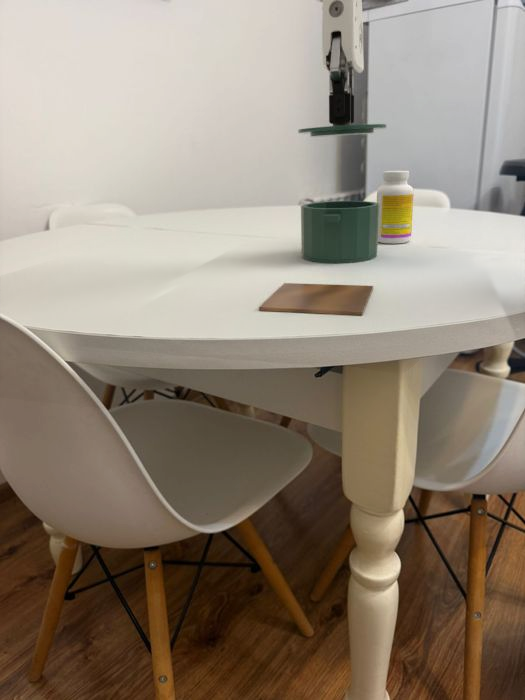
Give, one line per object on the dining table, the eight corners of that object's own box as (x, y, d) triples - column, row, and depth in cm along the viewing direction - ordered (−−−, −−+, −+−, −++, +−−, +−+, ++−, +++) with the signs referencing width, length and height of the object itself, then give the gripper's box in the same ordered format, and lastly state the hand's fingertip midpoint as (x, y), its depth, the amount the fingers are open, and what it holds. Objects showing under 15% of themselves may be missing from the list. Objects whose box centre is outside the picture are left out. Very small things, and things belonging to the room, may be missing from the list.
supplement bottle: (417, 242, 101) (421, 170, 96) (385, 245, 99) (388, 172, 95) (400, 237, 107) (403, 169, 102) (369, 240, 105) (371, 171, 101)
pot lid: (389, 132, 88) (391, 88, 86) (381, 131, 76) (383, 79, 74) (308, 137, 92) (307, 95, 90) (288, 137, 80) (287, 88, 78)
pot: (381, 246, 98) (383, 198, 95) (370, 267, 82) (372, 210, 79) (313, 246, 102) (313, 199, 99) (290, 265, 86) (289, 211, 83)
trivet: (373, 288, 70) (373, 285, 70) (362, 315, 59) (362, 311, 59) (284, 285, 73) (284, 282, 73) (258, 310, 63) (258, 307, 63)
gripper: (360, -36, 69) (359, 119, 75) (374, -5, 83) (372, 123, 90) (303, -28, 71) (306, 123, 77) (326, 1, 85) (327, 126, 92)
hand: (341, 122), depth 83 cm, fingers closed on pot lid, 2 cm apart
